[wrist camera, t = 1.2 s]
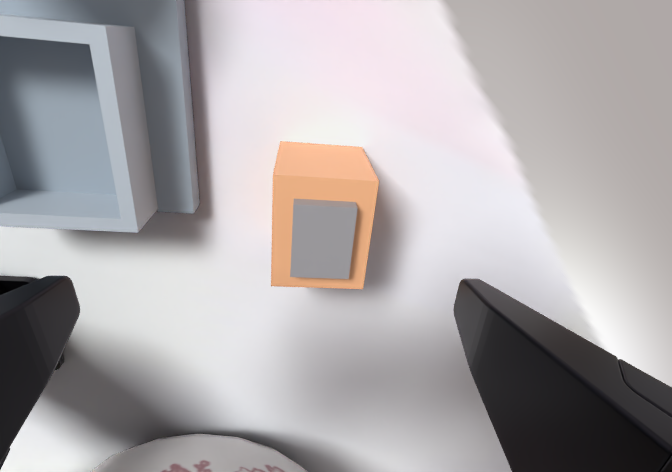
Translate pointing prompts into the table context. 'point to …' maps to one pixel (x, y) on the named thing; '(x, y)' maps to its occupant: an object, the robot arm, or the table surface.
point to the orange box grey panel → (321, 215)
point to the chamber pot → (199, 456)
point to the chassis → (95, 114)
